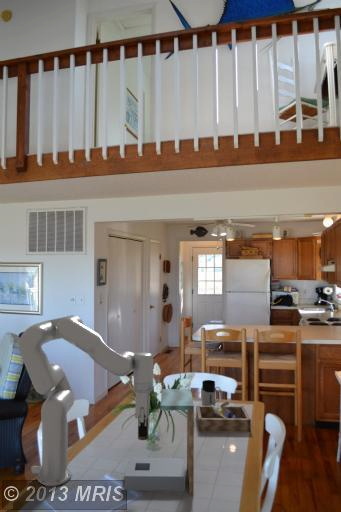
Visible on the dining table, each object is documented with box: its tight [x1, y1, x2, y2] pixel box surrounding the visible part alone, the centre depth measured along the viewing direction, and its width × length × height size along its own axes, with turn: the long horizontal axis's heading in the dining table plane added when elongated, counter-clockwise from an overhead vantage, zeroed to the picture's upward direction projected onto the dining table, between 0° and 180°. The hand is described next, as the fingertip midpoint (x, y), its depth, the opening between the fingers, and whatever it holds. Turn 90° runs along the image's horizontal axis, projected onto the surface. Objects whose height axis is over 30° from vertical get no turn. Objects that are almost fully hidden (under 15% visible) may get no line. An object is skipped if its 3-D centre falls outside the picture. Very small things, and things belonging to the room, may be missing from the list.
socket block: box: [124, 457, 186, 492], centre depth 149 cm, size 22×14×5 cm, turn 90°
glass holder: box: [201, 379, 222, 406], centre depth 228 cm, size 9×14×15 cm, turn 38°
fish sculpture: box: [211, 401, 236, 418], centre depth 204 cm, size 12×20×15 cm
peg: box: [137, 414, 150, 441], centre depth 150 cm, size 4×4×10 cm
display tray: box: [195, 405, 252, 433], centre depth 205 cm, size 26×20×6 cm
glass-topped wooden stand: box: [160, 388, 195, 496], centre depth 150 cm, size 12×20×32 cm, turn 0°
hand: (143, 433), depth 150 cm, fingers closed on peg, 4 cm apart
